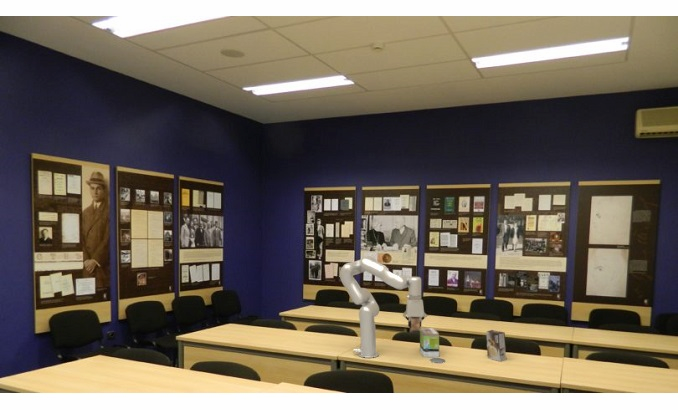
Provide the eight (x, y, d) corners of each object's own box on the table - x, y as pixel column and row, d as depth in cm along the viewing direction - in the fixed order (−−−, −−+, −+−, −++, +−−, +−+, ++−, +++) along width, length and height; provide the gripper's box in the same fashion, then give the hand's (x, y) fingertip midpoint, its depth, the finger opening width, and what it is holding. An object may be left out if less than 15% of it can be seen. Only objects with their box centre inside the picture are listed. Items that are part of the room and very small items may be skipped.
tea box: (440, 357, 268) (439, 332, 269) (423, 357, 268) (422, 333, 269) (435, 350, 283) (434, 327, 284) (419, 350, 283) (418, 327, 284)
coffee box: (506, 359, 261) (505, 332, 262) (500, 361, 257) (499, 334, 258) (493, 356, 268) (492, 329, 269) (486, 358, 264) (485, 331, 265)
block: (411, 330, 261) (411, 318, 262) (409, 328, 266) (409, 316, 267) (419, 330, 261) (419, 318, 262) (418, 328, 266) (418, 316, 267)
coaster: (431, 363, 256) (431, 362, 256) (428, 358, 265) (428, 358, 265) (447, 363, 257) (447, 362, 257) (443, 358, 266) (443, 357, 266)
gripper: (401, 298, 261) (401, 329, 260) (430, 298, 261) (430, 329, 260) (399, 296, 268) (399, 326, 268) (427, 296, 269) (427, 326, 268)
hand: (414, 327), depth 264 cm, fingers closed on block, 5 cm apart
